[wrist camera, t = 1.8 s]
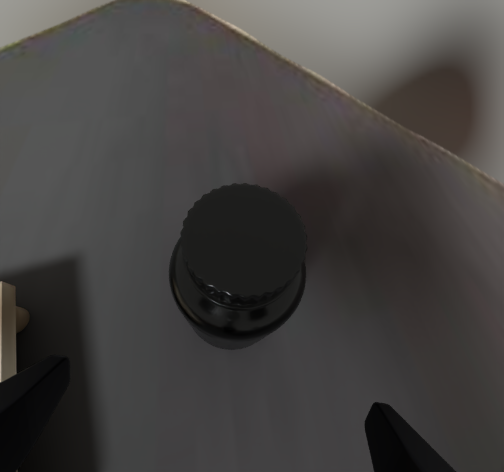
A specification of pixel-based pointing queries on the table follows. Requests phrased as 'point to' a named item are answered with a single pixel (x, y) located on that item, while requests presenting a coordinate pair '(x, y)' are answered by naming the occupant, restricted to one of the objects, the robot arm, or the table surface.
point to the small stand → (9, 329)
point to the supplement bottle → (239, 265)
